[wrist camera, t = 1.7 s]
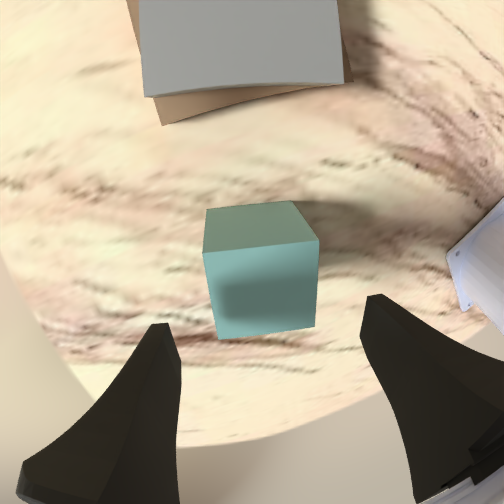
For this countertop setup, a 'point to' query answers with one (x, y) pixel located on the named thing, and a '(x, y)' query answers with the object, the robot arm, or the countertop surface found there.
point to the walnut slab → (209, 100)
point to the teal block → (260, 269)
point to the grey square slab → (238, 44)
